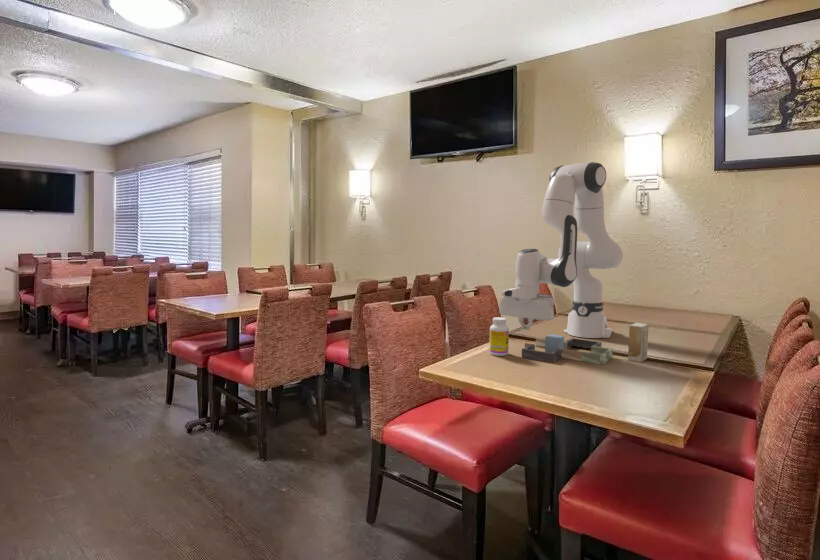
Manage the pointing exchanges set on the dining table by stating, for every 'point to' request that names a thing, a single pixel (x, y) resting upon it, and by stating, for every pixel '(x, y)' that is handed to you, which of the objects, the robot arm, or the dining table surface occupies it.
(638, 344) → the skincare box
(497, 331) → the supplement bottle
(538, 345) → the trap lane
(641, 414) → the dining table surface
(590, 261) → the robot arm
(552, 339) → the block
